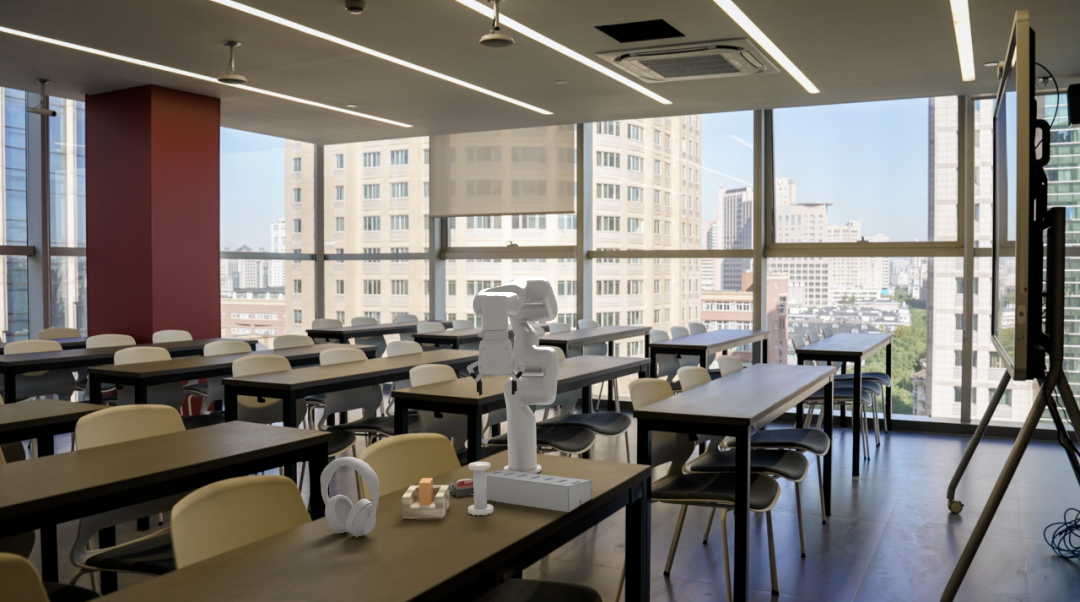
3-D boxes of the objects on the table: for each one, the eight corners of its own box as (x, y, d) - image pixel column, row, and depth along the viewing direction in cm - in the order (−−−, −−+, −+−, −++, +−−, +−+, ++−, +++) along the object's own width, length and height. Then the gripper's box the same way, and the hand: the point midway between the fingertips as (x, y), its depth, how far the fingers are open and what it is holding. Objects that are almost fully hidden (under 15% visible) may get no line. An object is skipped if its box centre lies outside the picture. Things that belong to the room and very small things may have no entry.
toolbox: (487, 486, 242) (424, 494, 234) (487, 472, 242) (424, 480, 234) (496, 493, 234) (431, 502, 226) (496, 478, 233) (431, 487, 226)
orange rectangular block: (422, 499, 217) (422, 478, 217) (433, 499, 217) (432, 478, 217) (419, 504, 212) (418, 483, 212) (430, 504, 212) (429, 482, 212)
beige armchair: (411, 506, 221) (410, 485, 221) (449, 505, 221) (449, 484, 220) (402, 519, 209) (401, 497, 209) (443, 519, 209) (442, 496, 208)
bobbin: (469, 508, 218) (468, 461, 217) (494, 507, 218) (493, 461, 217) (466, 515, 211) (465, 467, 210) (492, 515, 211) (490, 467, 210)
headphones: (389, 535, 196) (386, 457, 196) (367, 545, 189) (365, 464, 189) (336, 525, 205) (333, 450, 205) (313, 534, 199) (311, 456, 198)
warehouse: (591, 499, 225) (591, 473, 224) (569, 513, 212) (568, 486, 212) (503, 487, 239) (503, 463, 239) (477, 500, 227) (476, 474, 226)
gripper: (464, 337, 223) (465, 397, 224) (524, 336, 222) (525, 395, 223) (467, 335, 231) (469, 393, 231) (525, 334, 230) (527, 391, 230)
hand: (497, 394), depth 227 cm, fingers open, 9 cm apart
